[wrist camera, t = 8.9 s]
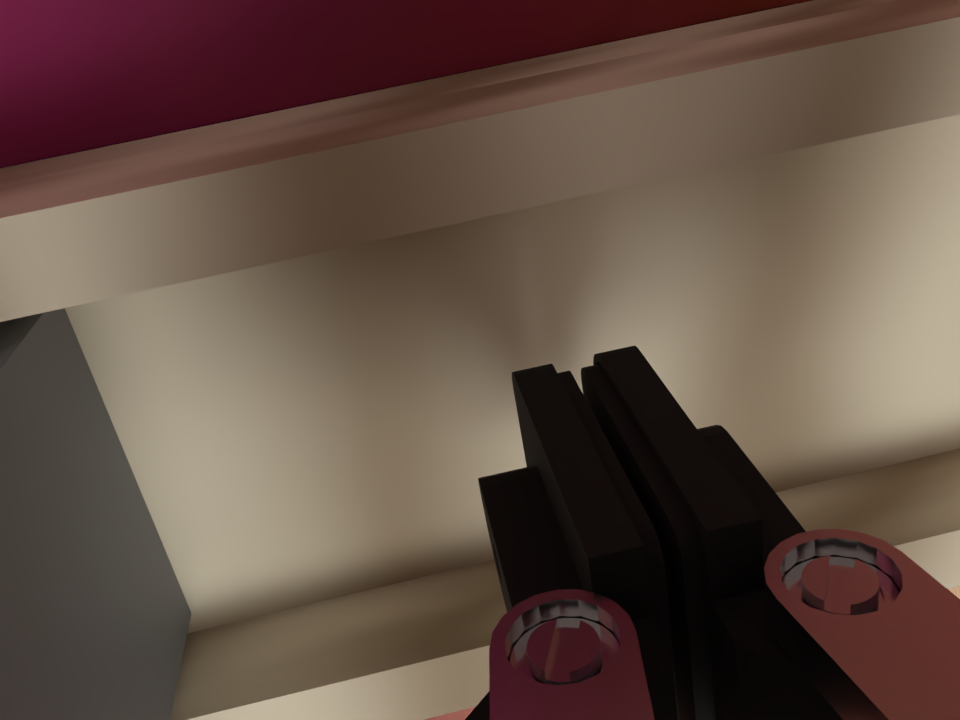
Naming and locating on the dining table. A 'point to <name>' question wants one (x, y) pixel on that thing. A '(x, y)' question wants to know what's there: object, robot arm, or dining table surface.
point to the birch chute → (506, 321)
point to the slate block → (76, 547)
